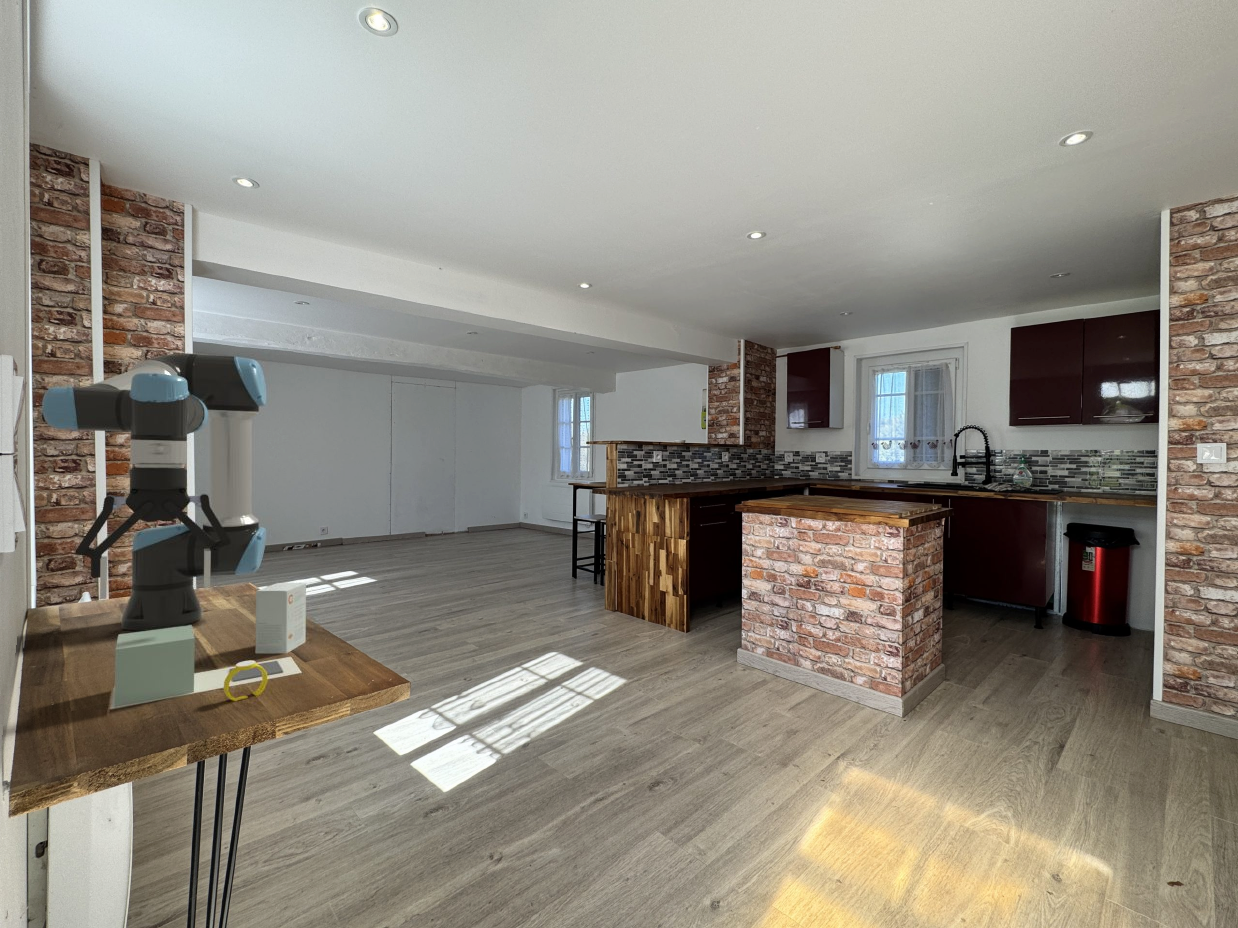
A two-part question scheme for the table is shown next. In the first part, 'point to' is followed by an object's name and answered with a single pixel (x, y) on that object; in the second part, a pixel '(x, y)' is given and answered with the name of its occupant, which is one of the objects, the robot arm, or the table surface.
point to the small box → (280, 617)
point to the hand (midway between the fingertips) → (157, 592)
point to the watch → (245, 666)
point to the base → (234, 677)
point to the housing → (154, 664)
